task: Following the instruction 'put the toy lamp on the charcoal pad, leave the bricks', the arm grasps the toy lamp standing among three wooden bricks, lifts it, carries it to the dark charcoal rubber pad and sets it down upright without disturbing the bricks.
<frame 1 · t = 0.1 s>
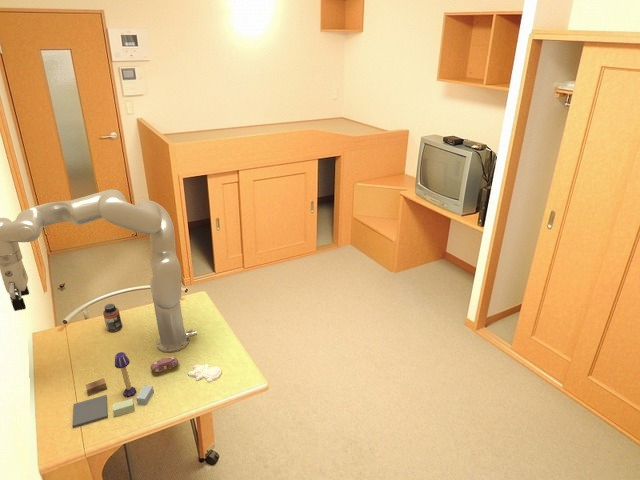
hand: (22, 302, 148), 31 cm above the table, fingers open, 9 cm apart
video game controller: (165, 370, 164), on the table
supplement bottle: (114, 329, 186), on the table
toy lamp: (129, 393, 153), on the table
pad: (90, 411, 145), on the table
brick c: (124, 411, 146), on the table
brick a: (97, 390, 154), on the table
brick b: (145, 398, 151), on the table
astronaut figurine: (205, 374, 163), on the table
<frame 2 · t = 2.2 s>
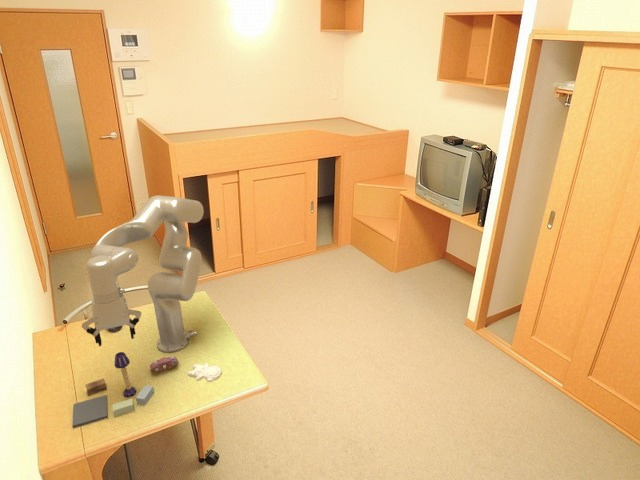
hand: (116, 340, 143), 23 cm above the table, fingers open, 9 cm apart
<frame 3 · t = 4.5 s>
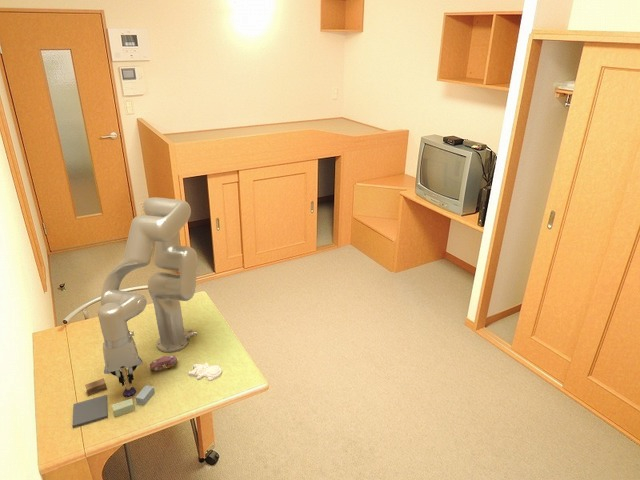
hand: (126, 382, 151), 5 cm above the table, fingers closed on toy lamp
toy lamp: (129, 393, 153), on the table, touching gripper
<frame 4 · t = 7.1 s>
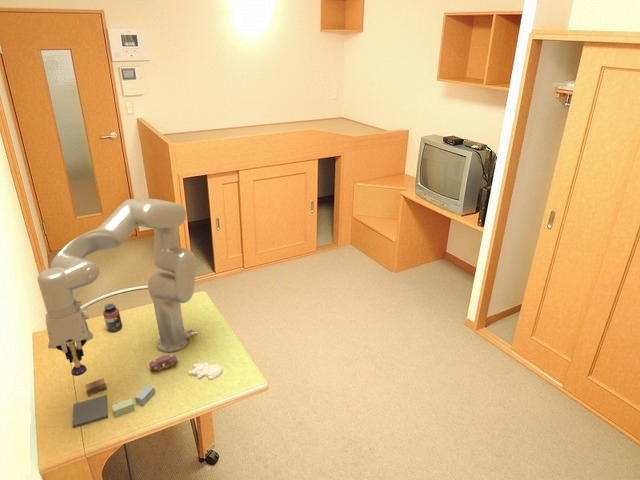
hand: (76, 358, 136), 22 cm above the table, fingers closed on toy lamp
toy lamp: (78, 371, 138), point 17 cm above the table, touching gripper
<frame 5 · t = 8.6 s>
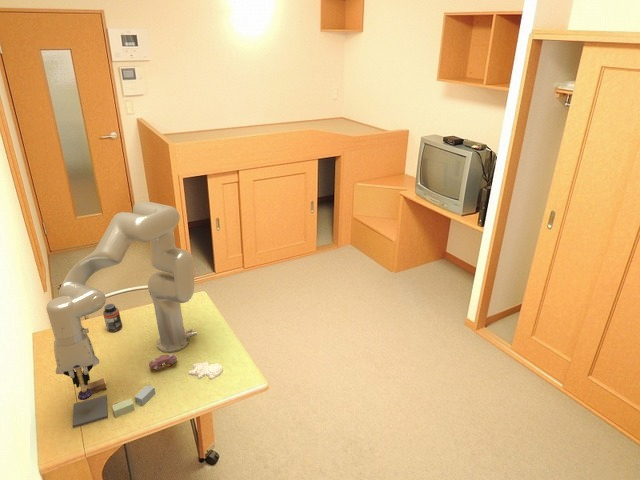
hand: (82, 383, 140), 12 cm above the table, fingers closed on toy lamp
toy lamp: (84, 395, 142), point 7 cm above the table, touching gripper
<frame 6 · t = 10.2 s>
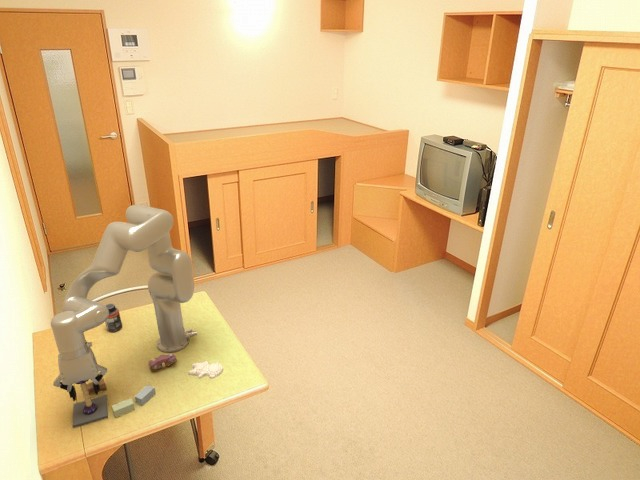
hand: (85, 394, 142), 8 cm above the table, fingers open, 5 cm apart
toy lamp: (89, 410, 145), point 1 cm above the table, touching pad
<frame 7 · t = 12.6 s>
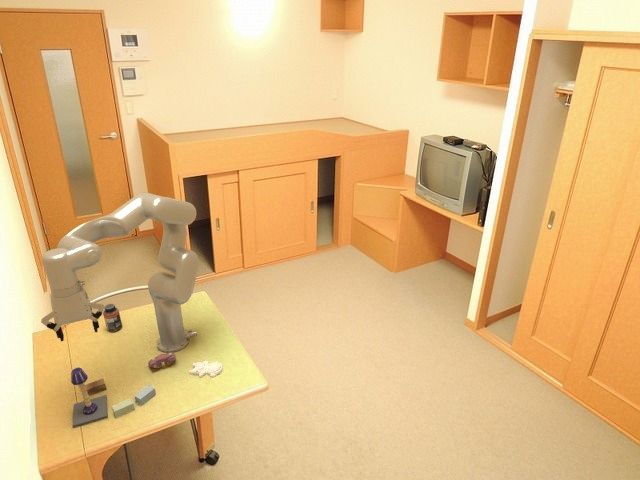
hand: (79, 334, 140), 26 cm above the table, fingers open, 9 cm apart
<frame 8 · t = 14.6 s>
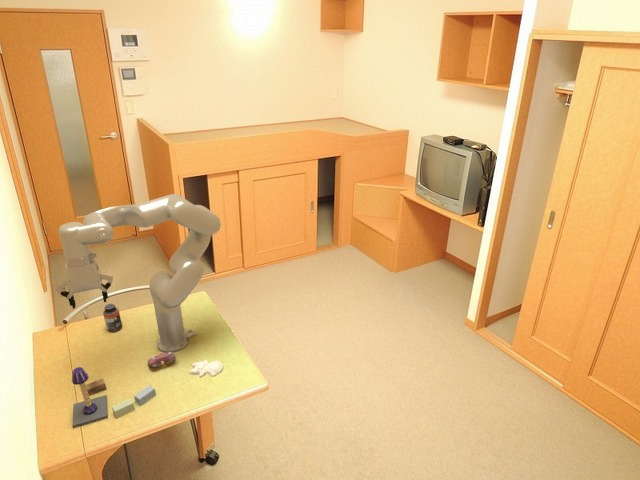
hand: (90, 303, 152), 28 cm above the table, fingers open, 9 cm apart
at the end: toy lamp inside the target area on the pad (0.2 cm from its centre), point 0.8 cm above the pad's base; toy lamp tilted 0°; brick a moved 0.4 cm from its start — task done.
